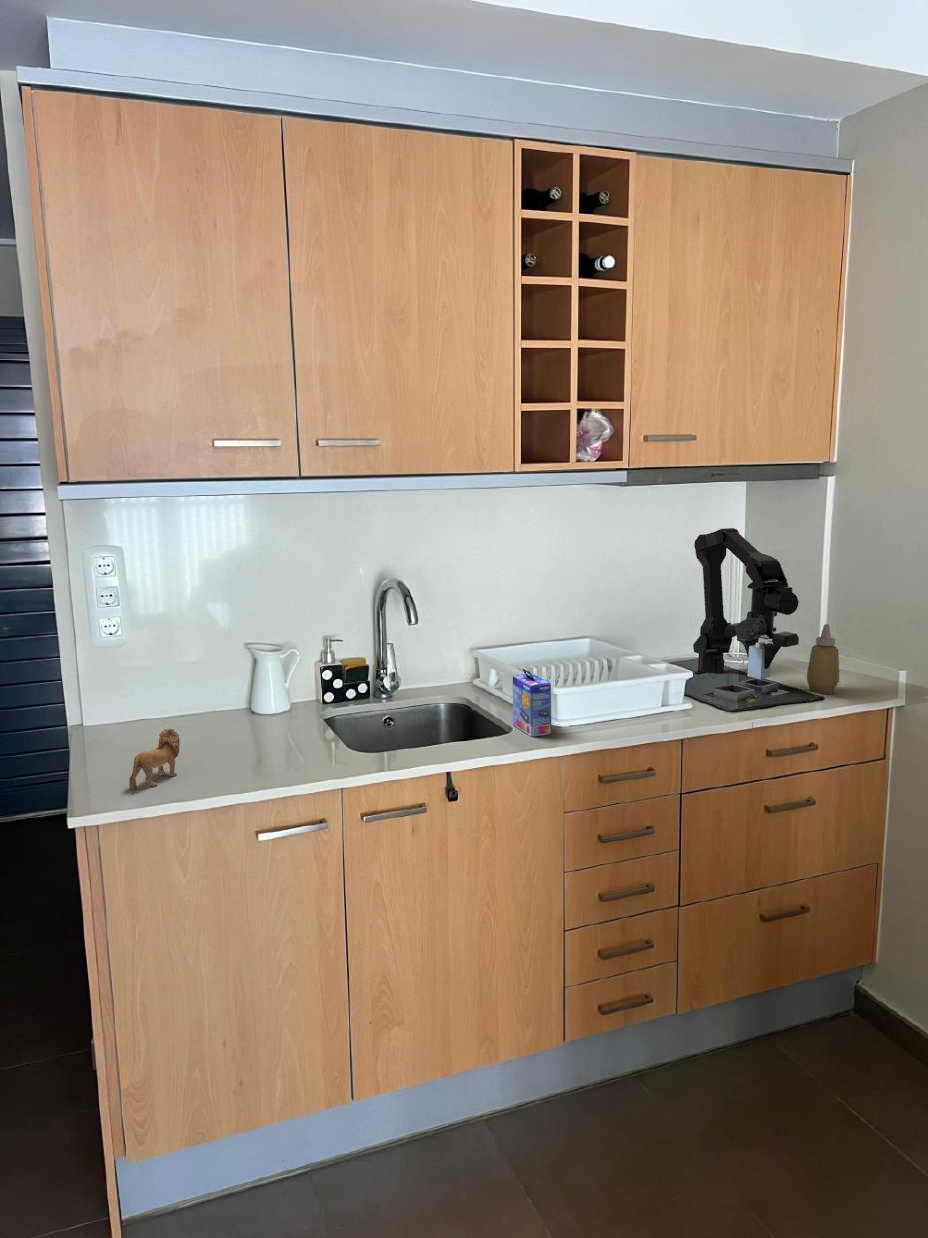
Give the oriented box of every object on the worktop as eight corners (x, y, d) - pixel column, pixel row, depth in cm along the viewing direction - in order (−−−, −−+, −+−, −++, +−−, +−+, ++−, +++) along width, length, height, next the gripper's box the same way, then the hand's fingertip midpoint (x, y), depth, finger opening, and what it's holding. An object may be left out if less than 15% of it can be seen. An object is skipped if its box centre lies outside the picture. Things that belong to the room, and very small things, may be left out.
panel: (702, 698, 241) (702, 687, 241) (750, 686, 253) (750, 675, 253) (741, 709, 232) (741, 697, 231) (789, 695, 244) (790, 684, 243)
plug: (747, 676, 245) (749, 642, 243) (756, 673, 248) (758, 640, 246) (760, 679, 242) (762, 645, 240) (769, 676, 244) (772, 642, 243)
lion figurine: (164, 767, 193) (162, 724, 191) (188, 769, 191) (185, 726, 190) (122, 793, 179) (118, 747, 177) (146, 795, 178) (143, 750, 176)
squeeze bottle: (798, 689, 249) (803, 623, 246) (821, 686, 253) (826, 620, 249) (821, 697, 242) (826, 628, 239) (845, 693, 246) (850, 626, 242)
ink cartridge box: (511, 725, 220) (511, 665, 217) (532, 722, 222) (532, 662, 219) (530, 737, 211) (531, 675, 208) (552, 734, 213) (553, 672, 210)
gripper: (713, 606, 244) (710, 664, 247) (775, 617, 229) (771, 679, 232) (739, 601, 250) (736, 658, 253) (802, 612, 236) (797, 672, 239)
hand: (759, 667), depth 244 cm, fingers closed on plug, 4 cm apart
